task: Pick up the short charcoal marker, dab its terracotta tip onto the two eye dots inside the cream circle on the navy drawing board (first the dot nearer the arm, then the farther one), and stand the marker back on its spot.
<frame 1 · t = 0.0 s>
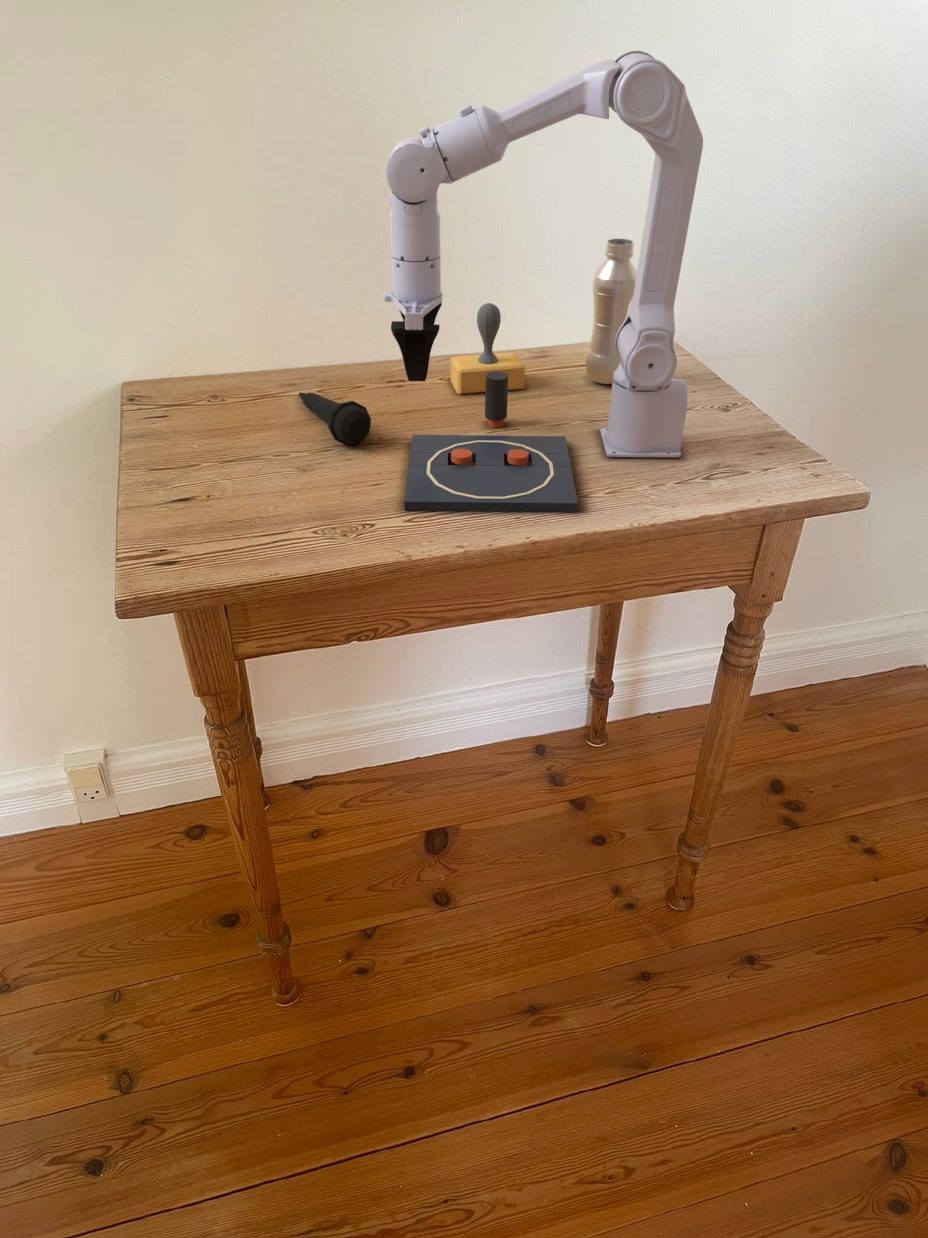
hand: (418, 368, 115), 10 cm above the table, tool pointing down, fingers open, 7 cm apart
near eye: (518, 457, 114), point 2 cm above the table, slide at 0.0 cm
rubber stamp: (487, 386, 137), on the table
marker: (495, 424, 126), on the table
microphone: (334, 424, 126), on the table
plastic bottle: (606, 382, 139), on the table
far eye: (461, 456, 114), point 2 cm above the table, slide at 0.0 cm
face board: (489, 475, 114), on the table
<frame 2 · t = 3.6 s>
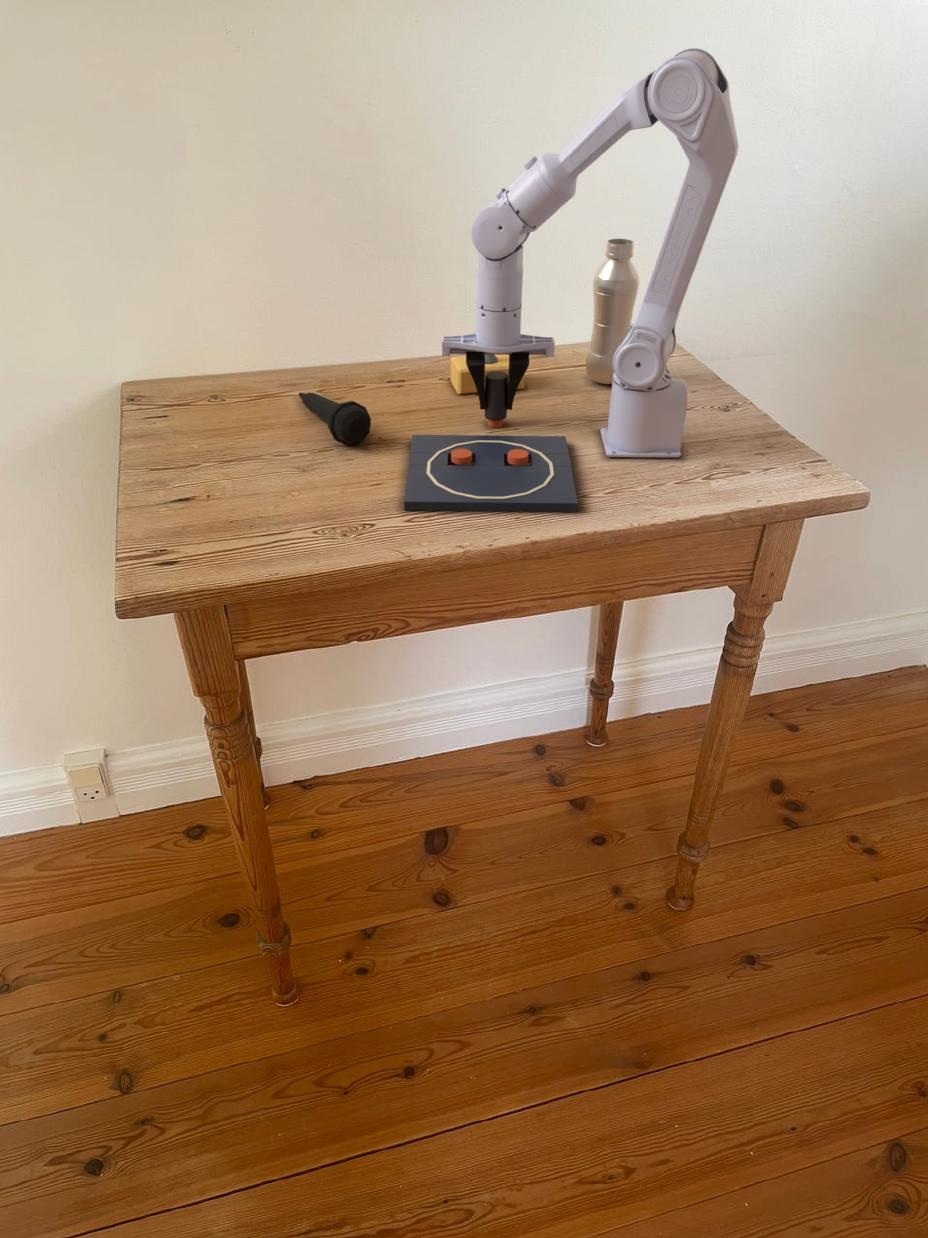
hand: (496, 406, 124), 3 cm above the table, tool pointing down, fingers closed on marker, 3 cm apart
marker: (495, 424, 126), on the table, touching gripper
everything else where it was.
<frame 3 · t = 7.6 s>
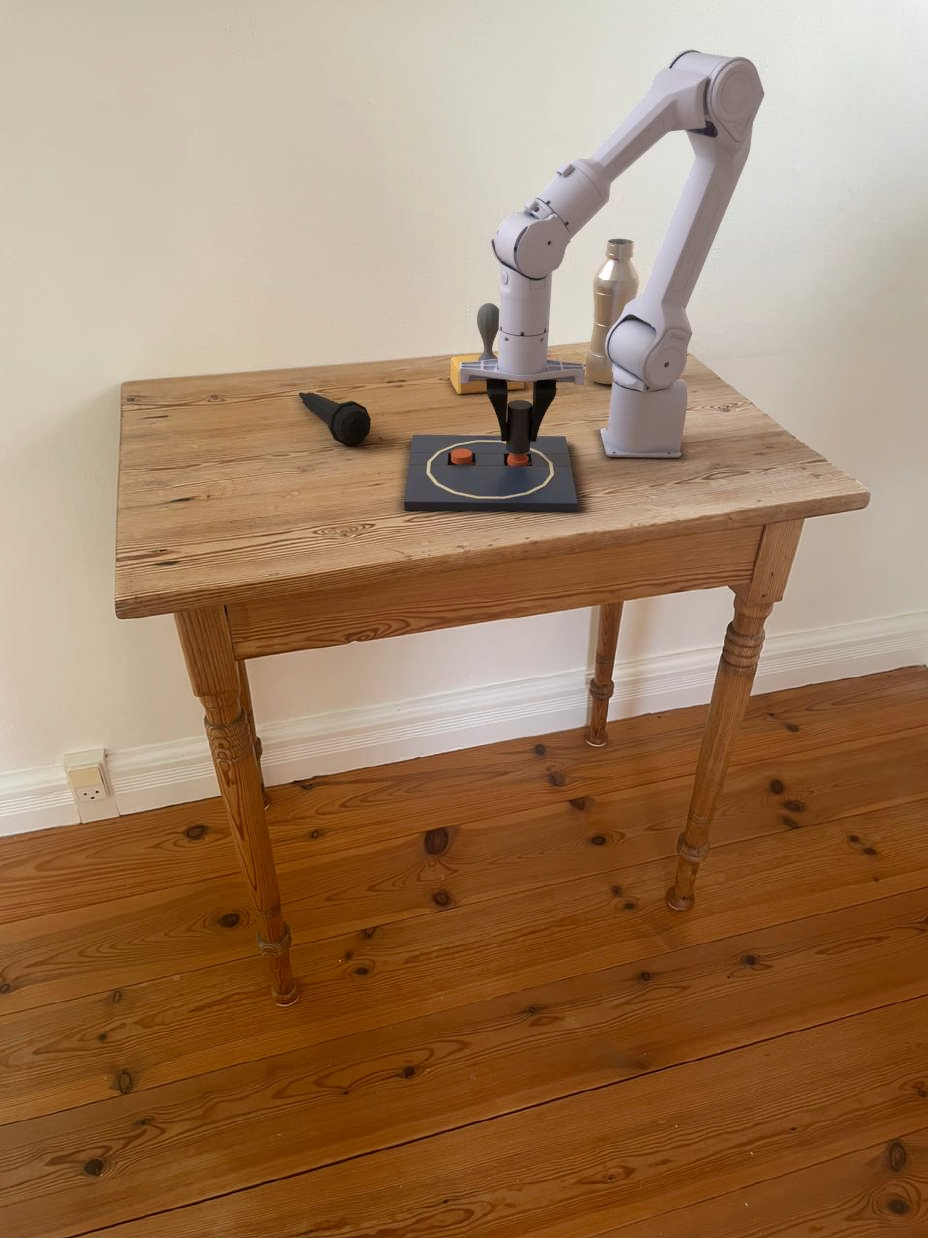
hand: (518, 438, 113), 4 cm above the table, tool pointing down, fingers closed on marker, 3 cm apart
near eye: (517, 461, 115), point 1 cm above the table, slide at -0.5 cm, touching marker
marker: (517, 457, 114), point 1 cm above the table, touching gripper, near eye
everything else where it was.
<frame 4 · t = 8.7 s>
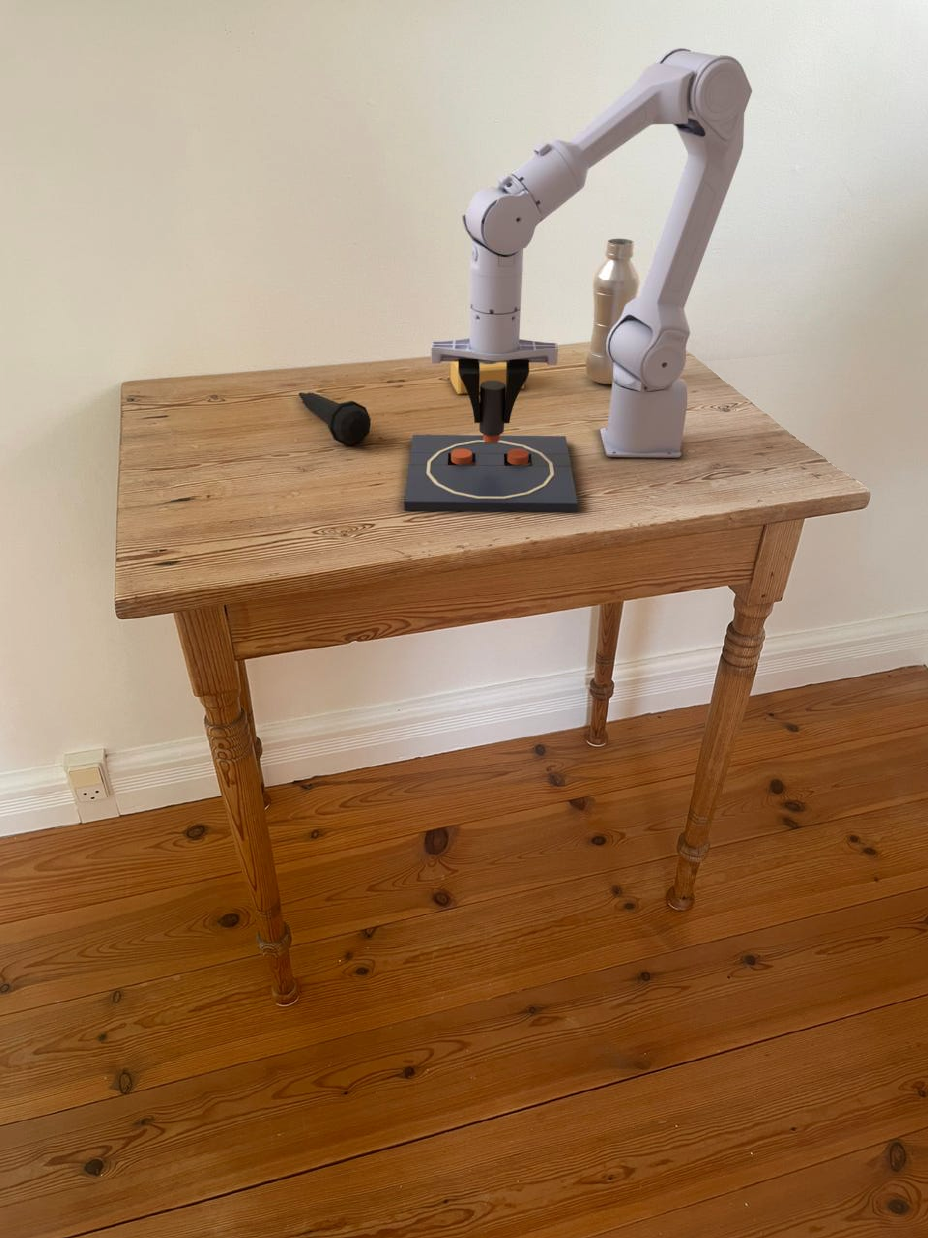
hand: (492, 419, 111), 6 cm above the table, tool pointing down, fingers closed on marker, 3 cm apart
near eye: (518, 456, 114), point 2 cm above the table, slide at 0.1 cm
marker: (491, 439, 113), point 4 cm above the table, touching gripper
everything else where it was.
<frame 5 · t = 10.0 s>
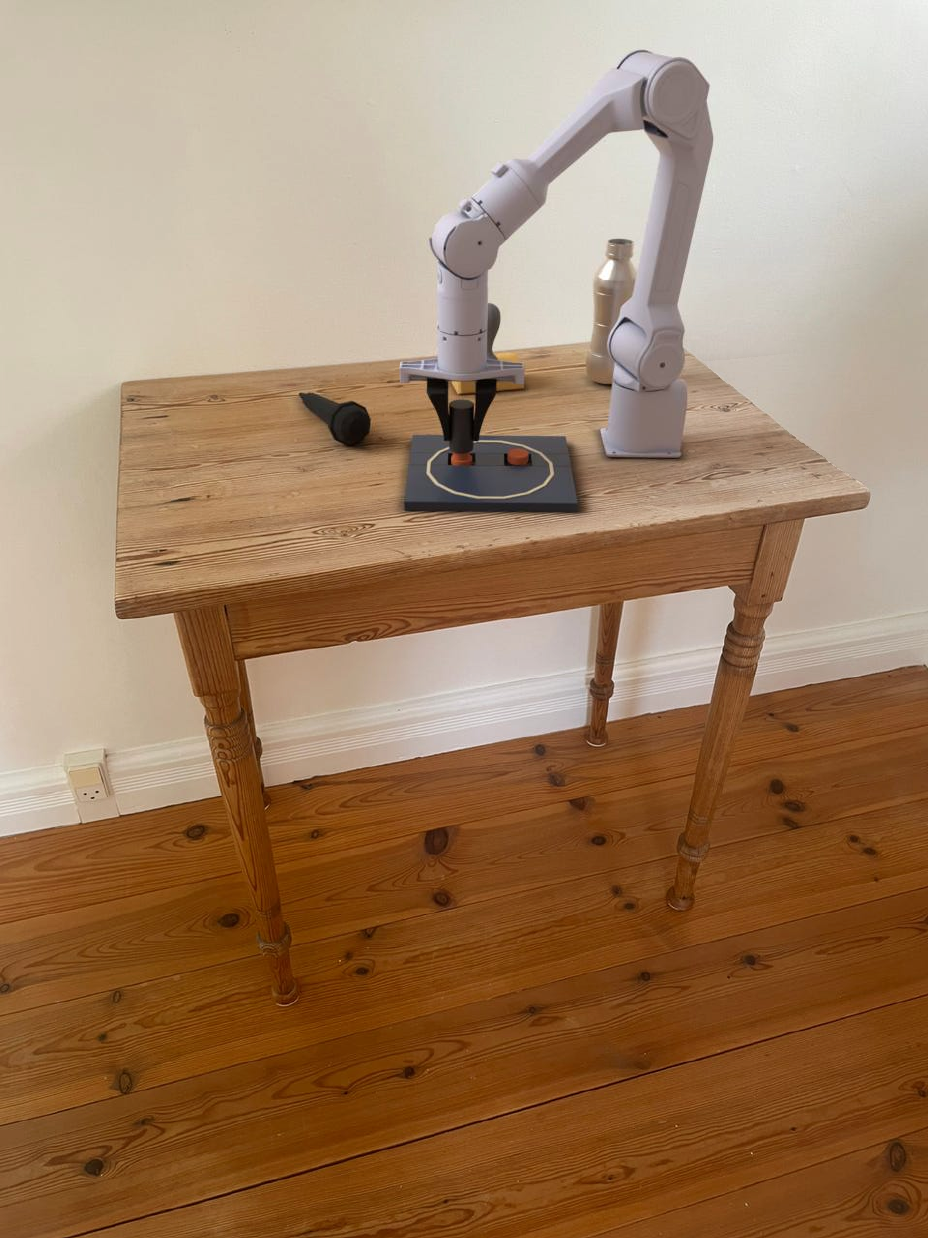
hand: (461, 437, 113), 4 cm above the table, tool pointing down, fingers closed on marker, 3 cm apart
marker: (461, 457, 114), point 1 cm above the table, touching far eye, gripper
far eye: (461, 460, 115), point 1 cm above the table, slide at -0.5 cm, touching marker
everything else where it was.
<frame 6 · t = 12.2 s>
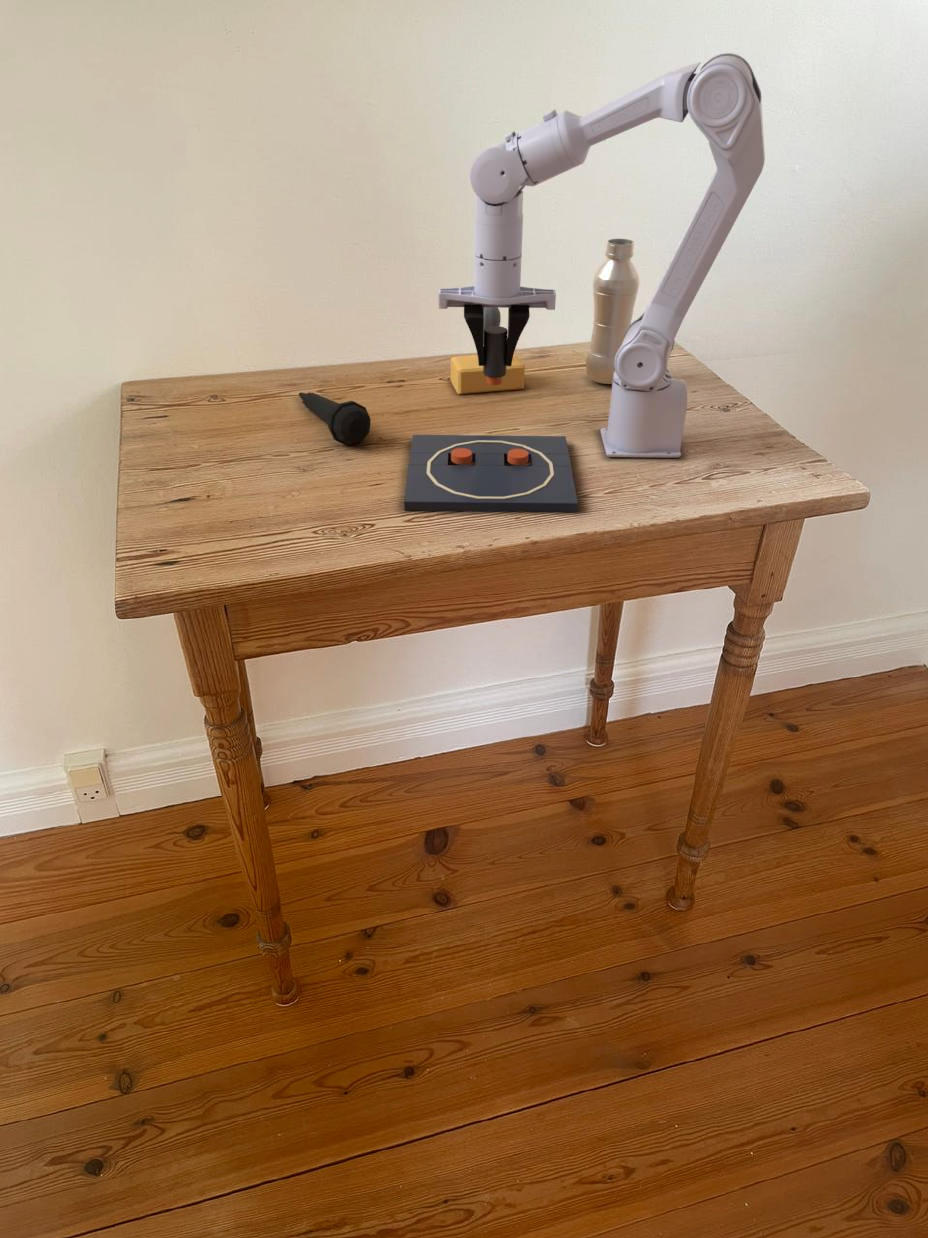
hand: (495, 363, 120), 9 cm above the table, tool pointing down, fingers closed on marker, 3 cm apart
marker: (494, 382, 121), point 6 cm above the table, touching gripper
far eye: (461, 456, 114), point 2 cm above the table, slide at 0.1 cm
everything else where it was.
when the fingers open (3 cm above the table, at t = 14.1 s): marker stays where it is, on the table.
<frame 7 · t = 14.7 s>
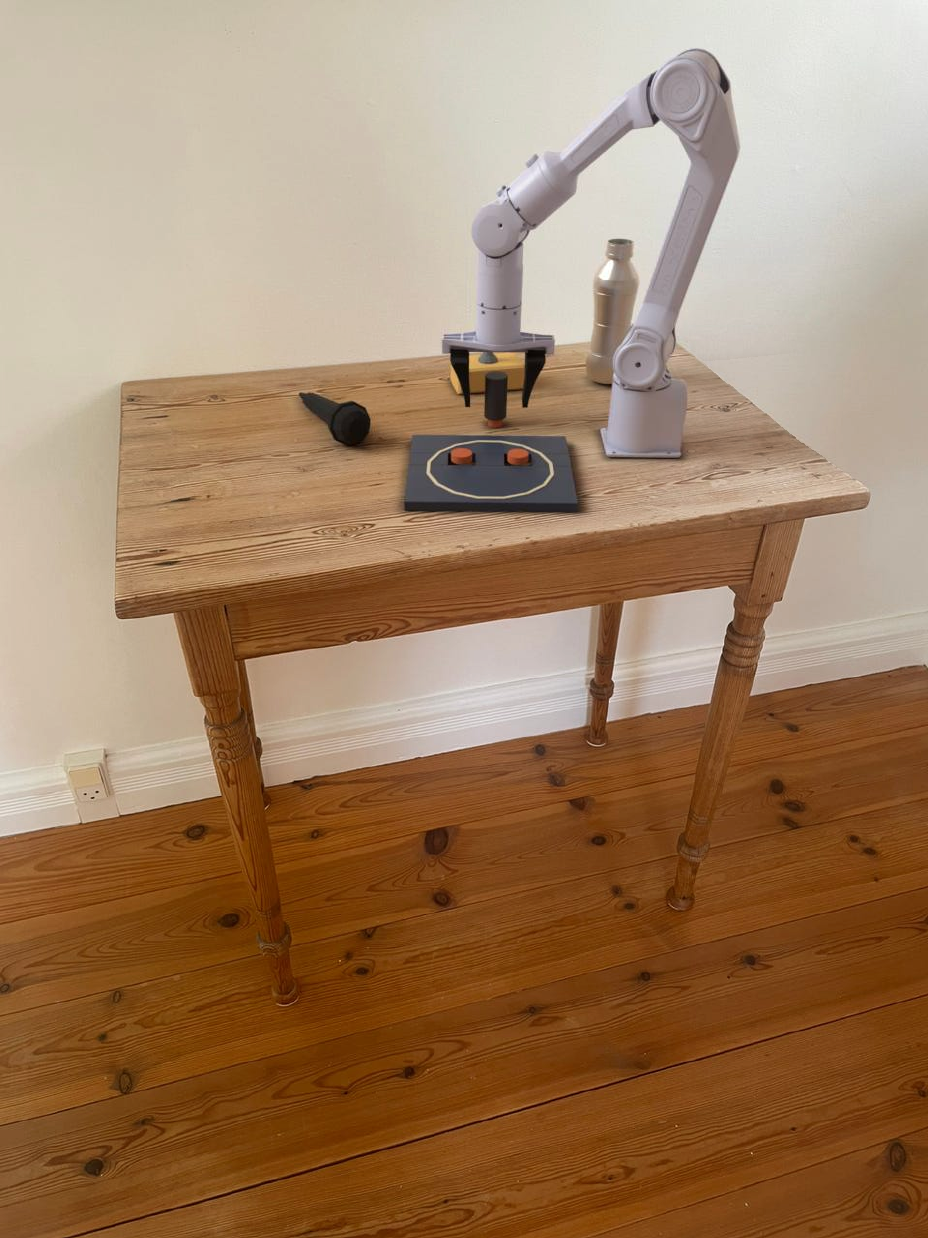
hand: (496, 404, 124), 3 cm above the table, tool pointing down, fingers open, 7 cm apart
marker: (495, 424, 126), on the table
everything else where it was.
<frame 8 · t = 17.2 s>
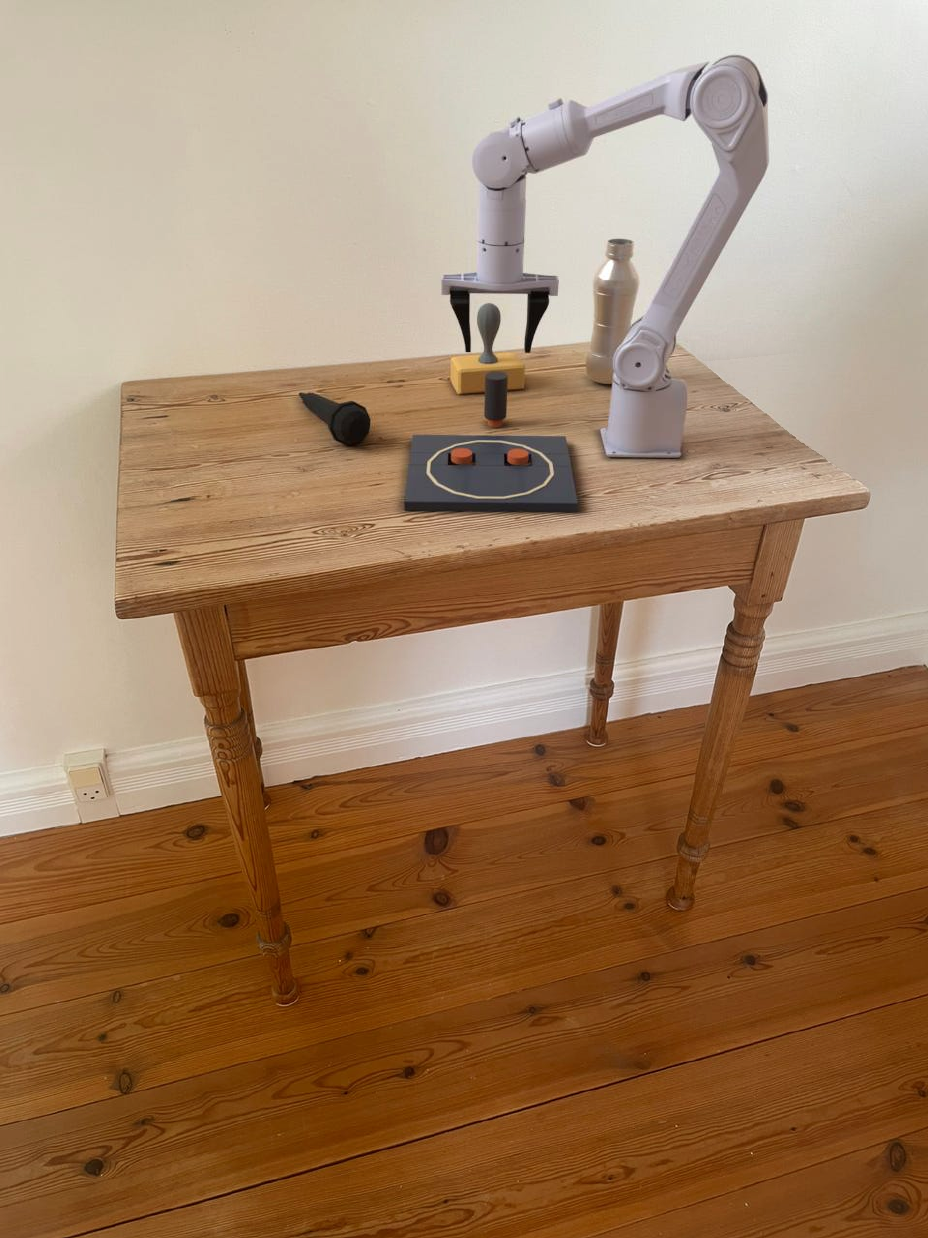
hand: (497, 349, 120), 10 cm above the table, tool pointing down, fingers open, 7 cm apart
nothing on the table moved.
at the end: near eye pushed in 0.5 cm at the most during the clip, back to where it started at the end; far eye pushed in 0.5 cm at the most during the clip, back to where it started at the end; marker inside the target area (0.1 cm from its centre), on the table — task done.
